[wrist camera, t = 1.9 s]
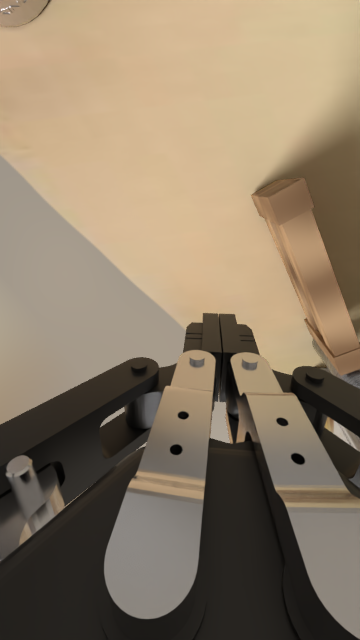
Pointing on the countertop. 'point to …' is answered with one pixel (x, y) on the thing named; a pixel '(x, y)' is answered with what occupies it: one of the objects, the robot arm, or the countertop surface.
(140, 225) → the countertop surface
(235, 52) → the countertop surface
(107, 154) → the countertop surface
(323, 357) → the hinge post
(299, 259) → the gate
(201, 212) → the countertop surface
